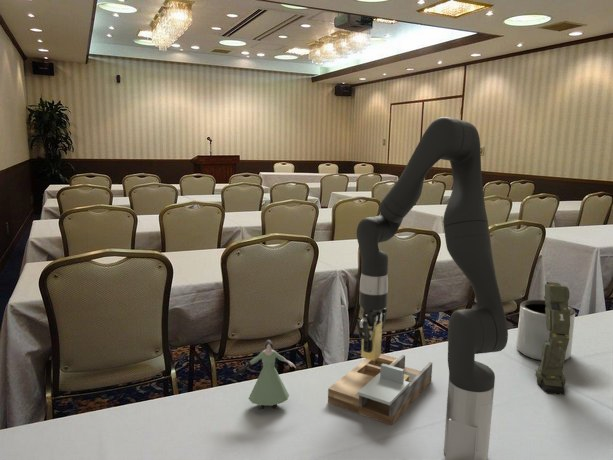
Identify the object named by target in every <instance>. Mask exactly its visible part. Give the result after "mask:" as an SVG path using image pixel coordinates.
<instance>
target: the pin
mask: <svg viewBox="0 0 613 460" xmlns="http://www.w3.org/2000/svg"><path fill="white" fill-rule="evenodd" d="M368 328H372V327H370V326H368ZM382 332H383V331H382V321H381V322H377V323H376V325H375V330H374V332H373V336H372V351H371V352H370V353H368V352H365V351H364V350H363V346H364V339H361V347H360V348H361V350H360V354H361V355H360V357H361V358H363V359H370V360H373V361H375V360H376V359H377V358H378V357H379V356H381V354H382V338H383V337H382ZM369 334H370V332H369Z"/></svg>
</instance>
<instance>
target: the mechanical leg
mask: <svg viewBox="0 0 613 460" xmlns="http://www.w3.org/2000/svg"><path fill="white" fill-rule="evenodd" d="M570 294H571V293H570V289H569V287H568V286H566V285H564V284H563V285H562V284H561V283H559V282H551V281H549V282H548V281H547V282H546V283H545V284H544V296H543V300H545V304H546V307H545V312H546V327H547V330H549V331H550V334H549V340H548V341H549V342H547V341H545V343H544V344H543V346H542V356H541V361H540V366H538V368H537V369H535V373H534V375H535V377H536V384H537V385H539V386H540V388H541V389H542V390H543V392H544V393H545V394H551V395H552V394H553V395H562V396H565V395H566V392H565V385H566V376H565V374H564V365H565V361H566V360H565V354H566V350H567V346H568V342H569V330H570V311H569V308H568V306H569V300H570ZM565 334H566V335H565Z"/></svg>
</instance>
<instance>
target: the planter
mask: <svg viewBox="0 0 613 460" xmlns="http://www.w3.org/2000/svg"><path fill="white" fill-rule="evenodd" d="M545 307H546V304H545V299H528V300H523V301H522V302H521V303H520V306H519V315H518V316H519V317H518V325H517V332H516V333H517V334H516V340H515V341H516V342H515V343H516V345H515V346H516V349H517V350H518V351H519V352H520V353H522V355H524V356H526V357H528V358H530V359H533V360H536V361H539V362H541V356H542V346H543V344H544V343H545V341H547V342H549V341H548V340H549V334H550V331H549V330H547V327H546V312H545ZM568 308H569V311H570V330H569V342H568V346H567V350H566V354H565V360H564V361H566V360H569V358H571V355H572V350H573V349H572V348H573V339H574V338H573V337H574V327H575V317H576V311H575V309H574V308H573V307H571V306H569V305H568ZM565 335H566V334H565Z"/></svg>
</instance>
